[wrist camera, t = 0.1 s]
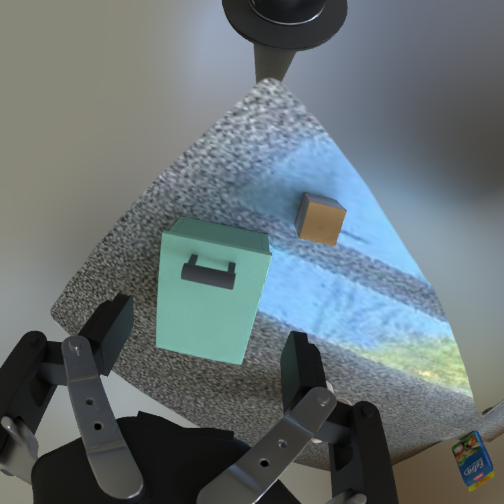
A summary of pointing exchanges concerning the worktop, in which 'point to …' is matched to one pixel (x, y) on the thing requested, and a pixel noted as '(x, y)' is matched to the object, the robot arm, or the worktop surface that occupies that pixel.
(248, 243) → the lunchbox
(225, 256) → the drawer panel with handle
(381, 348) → the worktop surface
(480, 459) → the blue food package
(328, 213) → the block
